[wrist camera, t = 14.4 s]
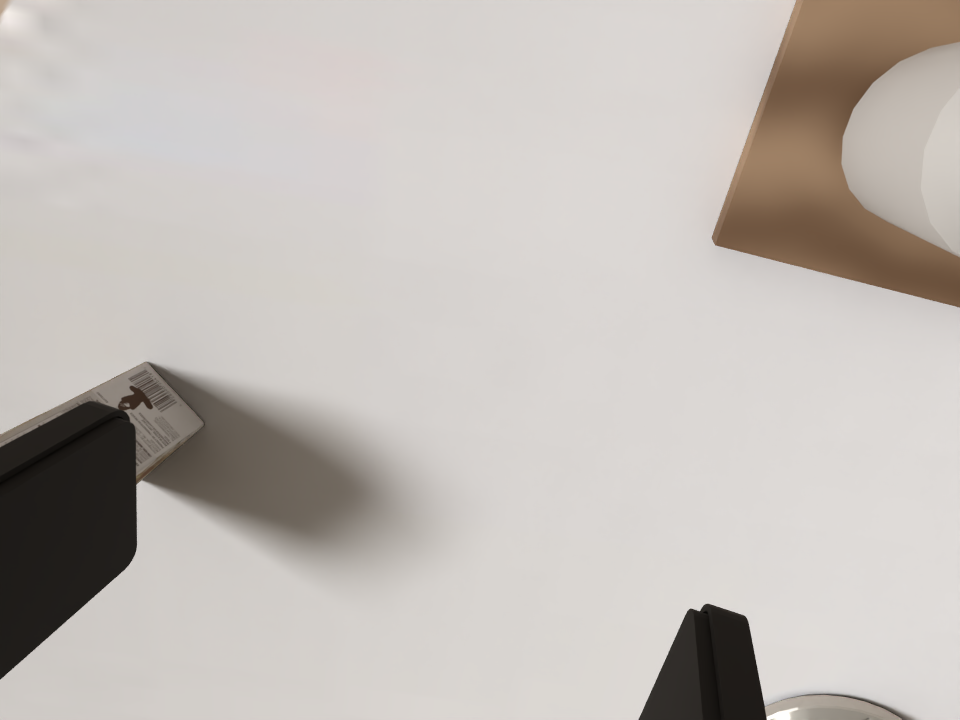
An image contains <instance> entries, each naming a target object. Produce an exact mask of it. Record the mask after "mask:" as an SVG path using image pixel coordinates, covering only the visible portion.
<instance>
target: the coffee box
mask: <svg viewBox="0 0 960 720" xmlns="http://www.w3.org/2000/svg"><path fill="white" fill-rule="evenodd" d="M88 401H96V402H99V403H102V404H105V405H108V406H111V407H114V408H117V409H120V410H123V411H125V412H126V413H127V414H128V415H129V417H130V422H131V423H133V424H134V426H135V430H136V484H137V483H139V482H140V481H141V480H142V479H143V478H145V477H146V476H147V475H148V474H149V473H150V472H151V471H152V470H154V469H155V468H156V467H157V466H158V465H159V464H160V463H162V462H163V461H164V460H165V459H166V458H167V457H168V456H170V455H171V454H172V453H173V452H174V451H175V450H177V449H178V448H179V447H180V446H181V445H182V444H183V443H185V442H186V441H187V440H188V439H189V438H190V437H192V436H193V435H194V434H195V433H196V432H197V431H198V430H200V429H201V428H202V427H203V426H204V422H203V421H202V420H201V419H200V418H199V417H198V416H197V415H196V413H195V412H194V411H193V410H192V409H191V408H190V407H189V406H188V405H187V404H186V403H185V402H184V401H183V400H182V399H181V398H180V396H179V395H178V394H177V393H176V392H175V391H174V390H173V389H172V388H171V387H170V386H169V385H168V384H167V383H166V382H165V381H164V380H163V379H162V378H161V376H160V375H159V374H158V373H157V372H156V371H155V370H154V369H153V368H152V367H151V366H150V365H149V364H148V363H147V362H144V363H142V364H140V365H138V366H136V367H134V368H132V369H130V370H129V371H126V372H124V373H122V374H120V375H118V376H116V377H114V378H113V379H111V380H109V381H107V382H105V383H103V384H101V385H99V386H97V387H95V388H93V389H91V390H89V391H87V392H85V393H83V394H81V395H79V396H77V397H75V398H73V399H71V400H69V401H67V402H65V403H63V404H61V405H59V406H57V407H55V408H53V409H51V410H49V411H47V412H45V413H43V414H41V415H39V416H37V417H35V418H33V419H31V420H29V421H27V422H25V423H23V424H21V425H19V426H17V427H14V428H12V429H10V430H8V431H6V432H4V433H2V434H0V447H1V446H3V445H5V444H7V443H9V442H11V441H13V440H15V439H16V438H18V437H20V436H22V435H24V434H26V433H28V432H30V431H32V430H34V429H35V428H37V427H39V426H41V425H43V424H45V423H47V422H49V421H51V420H53V419H54V418H56V417H58V416H60V415H62V414H64V413H66V412H68V411H70V410H72V409H73V408H75V407H77V406H79V405H81V404H83V403H86V402H88Z"/></svg>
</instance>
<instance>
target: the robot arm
mask: <svg viewBox="0 0 960 720" xmlns="http://www.w3.org/2000/svg"><path fill="white" fill-rule="evenodd" d="M136 548H137V512H136V430H135V426H134V424H133V423H131V422H130V417H129V415H128V414H127V413H126V412H125V411H123V410H120V409H117V408H114V407H111V406H108V405H105V404H102V403H99V402H96V401H88V402H86V403H83V404H81V405H79V406H77V407H75V408H73V409H72V410H70V411H68V412H66V413H64V414H62V415H60V416H58V417H56V418H54V419H53V420H51V421H49V422H47V423H45V424H43V425H41V426H39V427H37V428H35V429H34V430H32V431H30V432H28V433H26V434H24V435H22V436H20V437H18V438H16V439H15V440H13V441H11V442H9V443H7V444H5V445H3V446H1V447H0V679H1V678H3V677H4V676H5V675H6V674H7V673H8V672H9V671H10V670H12V669H13V668H14V667H15V666H16V665H17V664H18V663H20V662H21V661H22V660H23V659H24V658H25V657H26V656H27V655H29V654H30V653H31V652H32V651H33V650H34V649H35V648H36V647H38V646H39V645H40V644H41V643H42V642H43V641H44V640H46V639H47V638H48V637H49V636H50V635H51V634H52V633H53V632H55V631H56V630H57V629H58V628H59V627H60V626H61V625H62V624H64V623H65V622H66V621H67V620H68V619H69V618H70V617H72V616H73V615H74V614H75V613H76V612H77V611H78V610H79V609H81V608H82V607H83V606H84V605H85V604H86V603H87V602H88V601H90V600H91V599H92V598H93V597H94V596H95V595H96V594H98V593H99V592H100V591H101V590H102V589H103V588H104V587H105V586H107V585H108V584H109V583H110V582H111V581H112V580H113V579H114V578H116V577H117V576H118V575H119V574H120V573H121V572H122V571H124V570H125V569H126V568H127V566H128V565H129V564H130V563H131V561H132V559H133V557H134V555H135V552H136ZM639 720H903V719H901V718H900V717H898V716H896V715H894V714H893V713H891V712H889V711H887V710H885V709H883V708H881V707H878V706H875V705H873V704H870V703H868V702H865V701H860V700H856V699H852V698H847V697H841V696H830V695H809V696H800V697H794V698H789V699H785V700H782V701H779V702H776V703H773V704H770V705H768V706H766V707H765V706H764V701H763V696H762V691H761V685H760V680H759V675H758V670H757V665H756V659H755V654H754V649H753V644H752V638H751V633H750V628H749V623H748V620H747V618H746V617H745V616H744V615H741V614H738V613H735V612H732V611H729V610H726V609H723V608H720V607H717V606H714V605H710V604H705V605H704V606H703V607H702V609H701V611H697V610H694V609H689V610H688V611H687V613H686V615H685V617H684V620H683V622H682V624H681V626H680V628H679V631H678V633H677V635H676V637H675V640H674V642H673V644H672V646H671V649H670V651H669V653H668V655H667V658H666V660H665V662H664V664H663V666H662V669H661V671H660V673H659V675H658V678H657V680H656V682H655V684H654V687H653V689H652V691H651V693H650V695H649V698H648V700H647V702H646V704H645V707H644V709H643V711H642V713H641V716H640V718H639Z"/></svg>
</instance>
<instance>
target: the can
mask: <svg viewBox="0 0 960 720" xmlns="http://www.w3.org/2000/svg"><path fill="white" fill-rule="evenodd" d="M841 164H842V168H843V171H844V174H845V177H846V181H847V184H848V187H849V189H850V191H851V192H852V193H853V194H854V196H855V197H856V198H857V199H858V201H859V202H860V203H861V204H862V206H863V207H864V208H865V209H866V210H868V211H870V212H871V213H873V214H875V215H877V216H878V217H880V218H882V219H883V220H885V221H887V222H889V223H891V224H893V225H895V226H897V227H899V228H901V229H903V230H905V231H907V232H909V233H911V234H913V235H915V236H917V237H919V238H921V239H923V240H925V241H927V242H929V243H931V244H934V245H936V246H938V247H940V248H942V249H944V250H946V251H948V252H950V253H952V254H954V255H956V256H958V257H960V42H957V43H952V44H947V45H942V46H937V47H932V48H929V49H927V50H925V51H922V52H920V53H918V54H916V55H913V56H911V57H909V58H907V59H904V60H902V61H900V62H898V63H897V64H896V65H895V66H893V67H892V68H891V69H890V70H888V71H887V72H886V73H885V74H883V75H882V76H881V77H880V78H878V79H877V80H876V81H874V82H873V83H872V85H871V86H870V87H869V89H868V90H867V91H866V93H865V94H864V95H863V97H862V98H861V99H860V101H859V102H858V103H857V105H856V106H855V107H854V109H853V111H852V114H851V117H850V119H849V122H848V125H847V127H846V130H845V132H844V135H843V144H842V163H841Z"/></svg>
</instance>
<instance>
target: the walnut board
mask: <svg viewBox="0 0 960 720" xmlns="http://www.w3.org/2000/svg"><path fill="white" fill-rule="evenodd" d="M957 42H960V0H796V3H795V6H794V9H793V12H792V14H791V17H790V20H789V23H788V26H787V28H786V31H785V34H784V37H783V40H782V42H781V45H780V48H779V51H778V54H777V56H776V59H775V62H774V65H773V68H772V70H771V73H770V76H769V79H768V82H767V84H766V87H765V90H764V93H763V96H762V98H761V101H760V104H759V107H758V110H757V112H756V115H755V118H754V121H753V124H752V126H751V129H750V132H749V135H748V138H747V140H746V143H745V146H744V149H743V152H742V154H741V157H740V160H739V163H738V166H737V168H736V171H735V174H734V177H733V180H732V182H731V185H730V188H729V191H728V194H727V196H726V199H725V202H724V205H723V208H722V210H721V213H720V216H719V219H718V222H717V224H716V227H715V230H714V233H713V236H712V239H713V242H714V244H715V245H717V246H720V247H724V248H728V249H732V250H736V251H740V252H744V253H748V254H752V255H756V256H760V257H764V258H768V259H772V260H776V261H779V262H783V263H787V264H791V265H795V266H799V267H803V268H807V269H811V270H815V271H819V272H823V273H827V274H831V275H834V276H838V277H842V278H846V279H850V280H854V281H858V282H862V283H866V284H870V285H874V286H878V287H882V288H886V289H890V290H893V291H897V292H901V293H905V294H909V295H913V296H917V297H921V298H925V299H929V300H933V301H937V302H941V303H945V304H948V305H952V306H956V307H960V257H958V256H956V255H954V254H952V253H950V252H948V251H946V250H944V249H942V248H940V247H938V246H936V245H934V244H931V243H929V242H927V241H925V240H923V239H921V238H919V237H917V236H915V235H913V234H911V233H909V232H907V231H905V230H903V229H901V228H899V227H897V226H895V225H893V224H891V223H889V222H887V221H885V220H883V219H882V218H880V217H878V216H877V215H875V214H873V213H871V212H870V211H868V210H866V209H865V208H864V207H863V206H862V204H861V203H860V202H859V201H858V199H857V198H856V197H855V196H854V194H853V193H852V192H851V191H850V189H849V187H848V184H847V181H846V177H845V174H844V171H843V168H842V164H841V163H842V144H843V135H844V132H845V130H846V127H847V125H848V122H849V119H850V117H851V114H852V111H853V109H854V107H855V106H856V105H857V103H858V102H859V101H860V99H861V98H862V97H863V95H864V94H865V93H866V91H867V90H868V89H869V87H870V86H871V85H872V83H873V82H874V81H876V80H877V79H878V78H880V77H881V76H882V75H883V74H885V73H886V72H887V71H888V70H890V69H891V68H892V67H893V66H895V65H896V64H897V63H898V62H900V61H902V60H904V59H907V58H909V57H911V56H913V55H916V54H918V53H920V52H922V51H925V50H927V49H929V48H932V47H937V46H942V45H947V44H952V43H957Z"/></svg>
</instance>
